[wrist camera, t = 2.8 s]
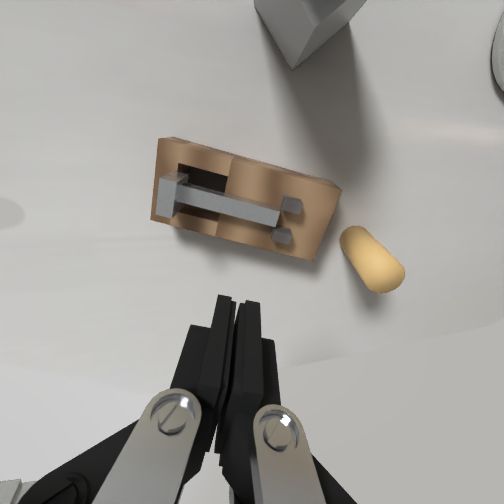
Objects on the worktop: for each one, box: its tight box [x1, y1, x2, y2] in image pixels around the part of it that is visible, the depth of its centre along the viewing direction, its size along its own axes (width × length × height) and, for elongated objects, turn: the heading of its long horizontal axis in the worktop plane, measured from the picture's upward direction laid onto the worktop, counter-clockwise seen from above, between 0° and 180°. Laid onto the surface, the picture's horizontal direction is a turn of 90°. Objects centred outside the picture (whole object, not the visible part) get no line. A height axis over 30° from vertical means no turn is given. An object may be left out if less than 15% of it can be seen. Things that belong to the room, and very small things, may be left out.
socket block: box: [150, 137, 342, 261], centre depth 31 cm, size 20×9×7 cm, turn 75°
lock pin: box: [155, 171, 280, 227], centre depth 27 cm, size 12×4×4 cm, turn 75°
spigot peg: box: [339, 226, 405, 293], centre depth 32 cm, size 4×4×10 cm
